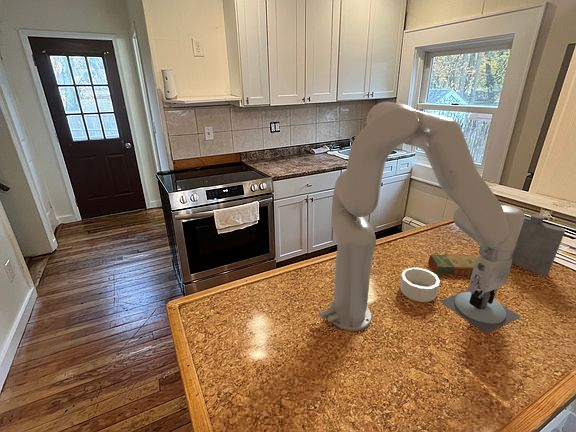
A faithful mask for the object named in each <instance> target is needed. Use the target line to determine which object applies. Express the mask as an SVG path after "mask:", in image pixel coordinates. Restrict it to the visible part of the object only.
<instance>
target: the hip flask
mask: <svg viewBox="0 0 576 432" xmlns="http://www.w3.org/2000/svg"><path fill="white" fill-rule="evenodd" d="M545 218H546V217H545V216H544V215H542V214H538V213H534V214H533V213H532V214H531V215H530V217H529V216H525V218H524V222H523V225H522V228H521V231H520V234H519V237H518V240H517V243H516V246H515V250H514V253H513V256H512V263H511V264H513V265H515V266H518V267H519V268H522V269H524V270H527V271H530V272H532V273H534V274H537V275H541V276H545V277H547V276H549V273H550V271H551V268H552V266H553V264H554V262H555V258H556V256H557V253H558V251H559V249H560V245H561V242H562V240H563V238H564V234H566V233H565V232H566V229H565V228H563V227H560V226H556V225H551V224H548V223H545V222H543V221H545Z"/></svg>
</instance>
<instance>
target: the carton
mask: <svg viewBox="0 0 576 432" xmlns="http://www.w3.org/2000/svg"><path fill="white" fill-rule="evenodd" d="M477 258H478V257H477V256H476V255H473V254H466V255H465V254H463V255H462V254H430V255H429V258H428V262H427V263H428V265H429V266H430V268H431V269H432V270H433V271H434V272H435V273H434V274H435V275H464V276H471V274H472V271H473V268H474V265H475V263H476V260H477Z"/></svg>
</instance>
